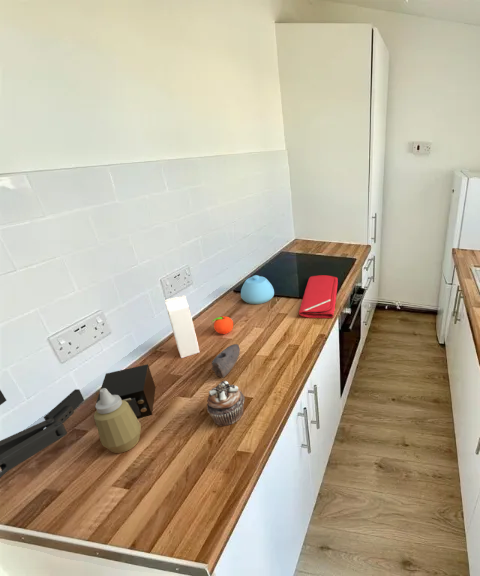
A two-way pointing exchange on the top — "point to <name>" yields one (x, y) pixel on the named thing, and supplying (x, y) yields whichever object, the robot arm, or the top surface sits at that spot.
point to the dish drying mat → (319, 297)
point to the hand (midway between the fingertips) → (41, 394)
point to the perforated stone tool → (225, 360)
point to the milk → (182, 326)
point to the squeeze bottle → (116, 423)
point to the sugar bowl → (257, 290)
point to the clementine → (223, 324)
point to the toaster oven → (132, 388)
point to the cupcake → (225, 404)
